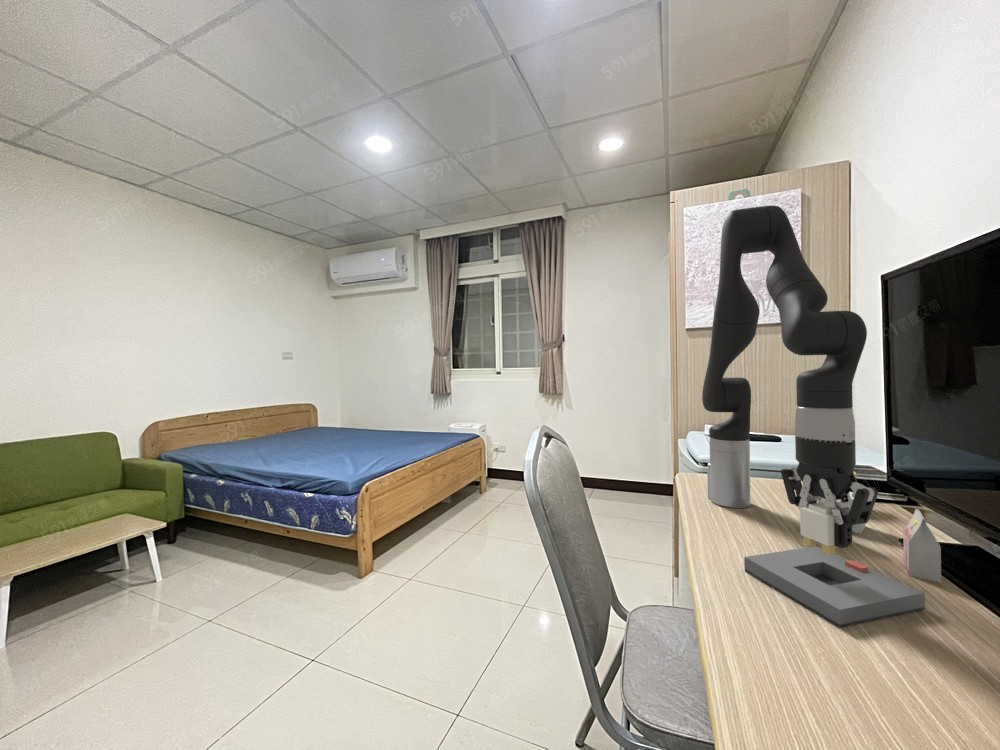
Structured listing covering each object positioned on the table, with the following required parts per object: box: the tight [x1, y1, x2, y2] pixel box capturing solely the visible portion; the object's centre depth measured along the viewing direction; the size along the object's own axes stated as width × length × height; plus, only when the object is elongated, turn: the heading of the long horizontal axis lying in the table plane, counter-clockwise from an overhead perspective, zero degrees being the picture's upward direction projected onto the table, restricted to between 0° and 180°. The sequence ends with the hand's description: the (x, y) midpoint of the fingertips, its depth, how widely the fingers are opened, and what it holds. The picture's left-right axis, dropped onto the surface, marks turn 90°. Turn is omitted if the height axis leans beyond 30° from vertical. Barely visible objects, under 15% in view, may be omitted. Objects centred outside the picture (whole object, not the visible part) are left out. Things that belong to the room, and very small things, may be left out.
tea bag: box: [902, 508, 942, 583], centre depth 69 cm, size 4×7×10 cm, turn 140°
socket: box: [743, 545, 926, 628], centre depth 64 cm, size 16×16×3 cm
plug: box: [799, 502, 844, 555], centre depth 64 cm, size 4×5×7 cm
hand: (825, 539), depth 64 cm, fingers closed on plug, 4 cm apart
